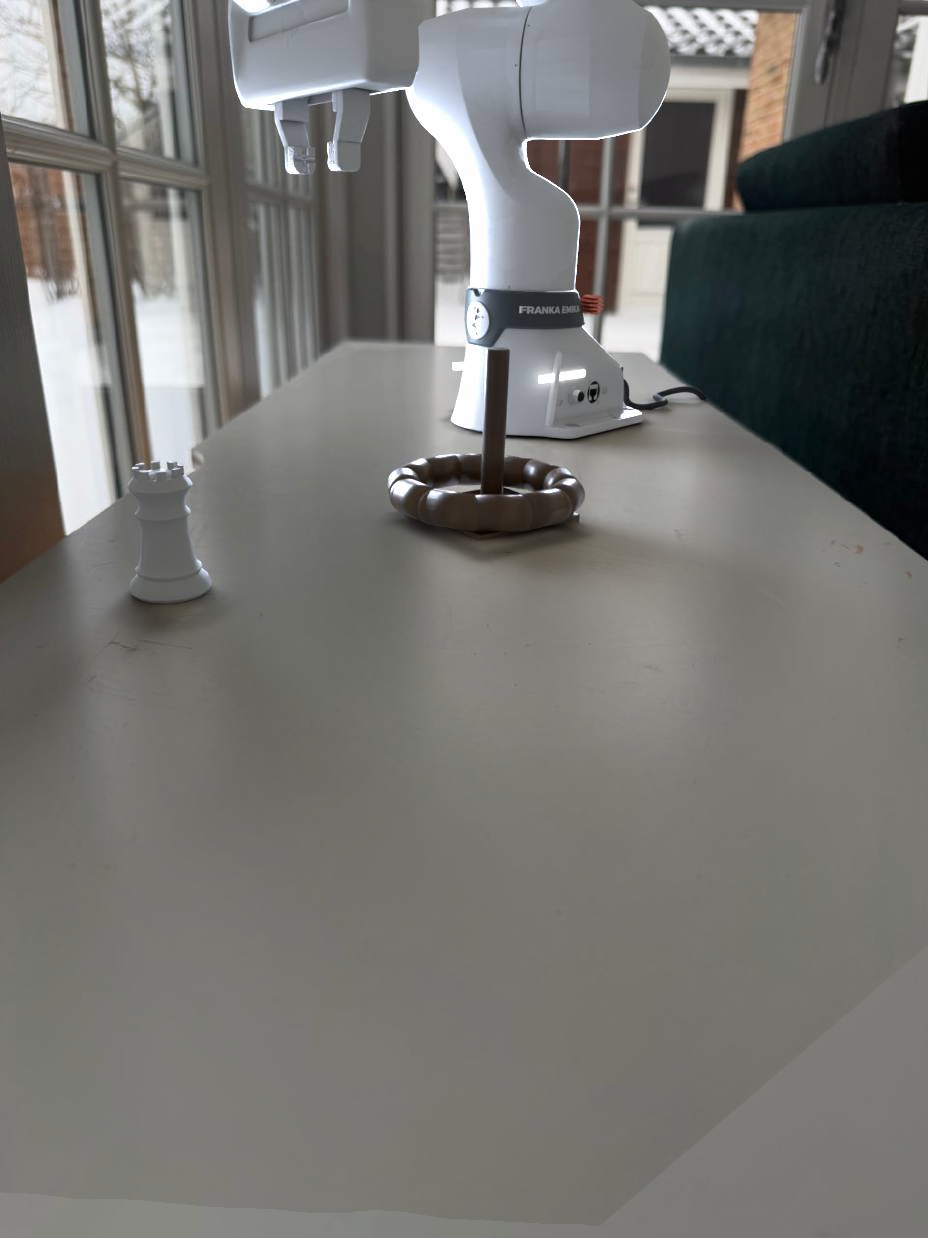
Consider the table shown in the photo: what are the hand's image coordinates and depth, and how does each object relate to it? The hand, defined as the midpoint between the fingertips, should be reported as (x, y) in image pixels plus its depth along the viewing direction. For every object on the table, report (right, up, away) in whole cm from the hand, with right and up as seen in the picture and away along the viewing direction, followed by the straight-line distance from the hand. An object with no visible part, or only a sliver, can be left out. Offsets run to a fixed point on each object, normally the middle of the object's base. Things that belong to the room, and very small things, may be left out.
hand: (321, 172), depth 64 cm
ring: (+12, -23, -1) cm, 26 cm away
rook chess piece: (-6, -32, -15) cm, 36 cm away
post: (+12, -26, 0) cm, 28 cm away
